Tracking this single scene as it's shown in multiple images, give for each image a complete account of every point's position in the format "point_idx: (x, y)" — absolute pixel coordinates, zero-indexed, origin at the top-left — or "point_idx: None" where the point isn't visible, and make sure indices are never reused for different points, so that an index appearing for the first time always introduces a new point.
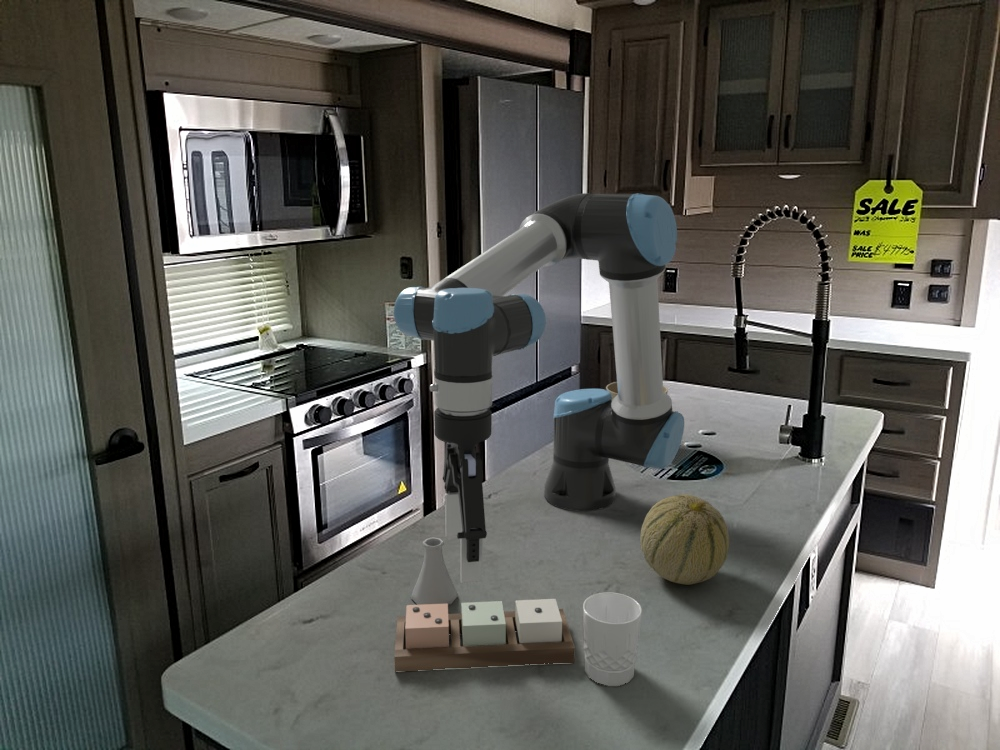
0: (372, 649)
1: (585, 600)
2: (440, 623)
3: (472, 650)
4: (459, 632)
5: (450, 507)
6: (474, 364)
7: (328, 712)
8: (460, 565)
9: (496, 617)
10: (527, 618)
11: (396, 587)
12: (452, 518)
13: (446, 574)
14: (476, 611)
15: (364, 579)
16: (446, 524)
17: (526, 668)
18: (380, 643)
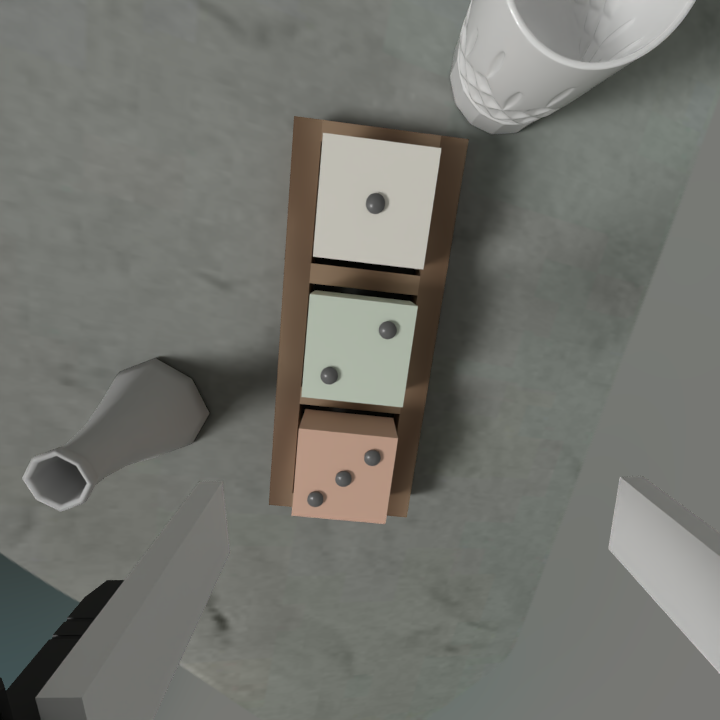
0: (326, 528)
1: (534, 40)
2: (381, 453)
3: (421, 375)
4: None
5: (160, 673)
6: None
7: (475, 588)
8: (656, 601)
9: (389, 324)
10: (406, 243)
11: (109, 478)
12: (190, 597)
13: (131, 404)
14: (347, 367)
15: (73, 536)
16: (207, 598)
17: None
18: None
